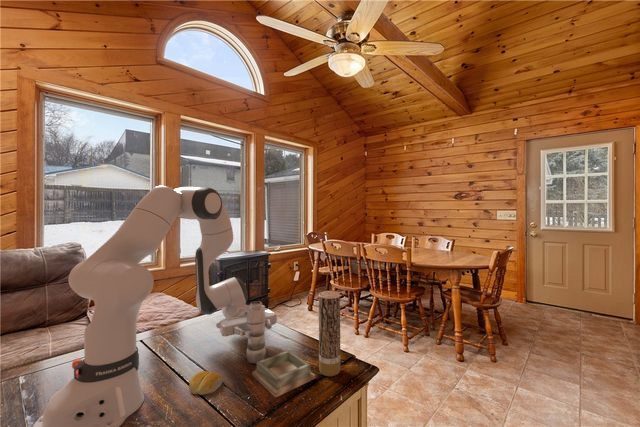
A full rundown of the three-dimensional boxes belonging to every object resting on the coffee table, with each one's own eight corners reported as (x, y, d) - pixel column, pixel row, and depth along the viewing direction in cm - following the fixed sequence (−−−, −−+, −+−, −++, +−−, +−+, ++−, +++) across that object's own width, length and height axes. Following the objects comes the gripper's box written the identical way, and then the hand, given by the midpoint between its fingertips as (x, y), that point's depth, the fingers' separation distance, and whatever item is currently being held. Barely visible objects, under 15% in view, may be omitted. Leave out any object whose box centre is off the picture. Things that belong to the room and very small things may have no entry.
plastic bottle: (244, 358, 101) (244, 301, 100) (263, 354, 104) (263, 299, 103) (248, 368, 95) (247, 307, 95) (268, 363, 98) (268, 304, 97)
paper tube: (340, 366, 96) (340, 291, 95) (340, 378, 89) (339, 297, 89) (320, 365, 96) (319, 290, 96) (318, 377, 90) (317, 296, 89)
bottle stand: (275, 397, 80) (275, 382, 80) (252, 375, 91) (252, 362, 91) (315, 378, 89) (315, 364, 89) (289, 360, 100) (289, 348, 100)
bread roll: (201, 377, 90) (201, 364, 90) (226, 382, 88) (226, 368, 88) (181, 393, 82) (181, 379, 82) (208, 399, 80) (208, 384, 80)
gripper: (214, 315, 104) (226, 327, 92) (267, 304, 115) (283, 314, 104) (214, 332, 104) (226, 347, 92) (267, 320, 115) (283, 332, 104)
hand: (257, 330), depth 98 cm, fingers open, 8 cm apart
